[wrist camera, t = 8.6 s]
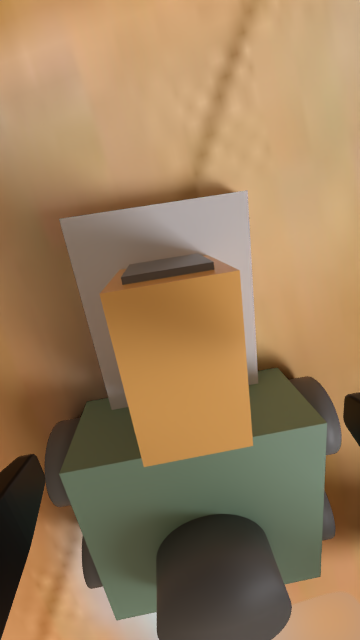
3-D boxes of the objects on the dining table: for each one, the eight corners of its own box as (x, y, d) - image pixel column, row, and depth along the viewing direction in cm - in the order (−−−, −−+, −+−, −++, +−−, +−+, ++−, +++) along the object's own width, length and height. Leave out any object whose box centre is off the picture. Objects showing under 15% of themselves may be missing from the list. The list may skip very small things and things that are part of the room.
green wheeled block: (298, 184, 16) (465, 133, 7) (298, 491, 24) (377, 634, 16) (3, 229, 15) (-188, 229, 7) (107, 529, 23) (80, 700, 15)
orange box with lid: (207, 249, 15) (239, 261, 9) (221, 377, 18) (253, 445, 12) (118, 264, 15) (97, 285, 9) (146, 390, 18) (143, 467, 12)
